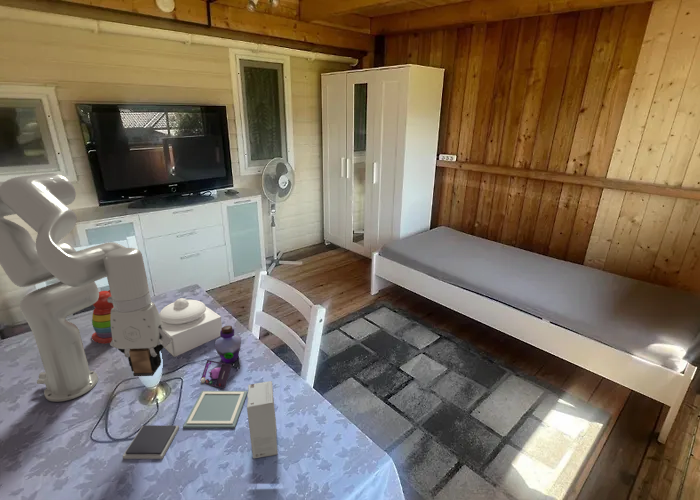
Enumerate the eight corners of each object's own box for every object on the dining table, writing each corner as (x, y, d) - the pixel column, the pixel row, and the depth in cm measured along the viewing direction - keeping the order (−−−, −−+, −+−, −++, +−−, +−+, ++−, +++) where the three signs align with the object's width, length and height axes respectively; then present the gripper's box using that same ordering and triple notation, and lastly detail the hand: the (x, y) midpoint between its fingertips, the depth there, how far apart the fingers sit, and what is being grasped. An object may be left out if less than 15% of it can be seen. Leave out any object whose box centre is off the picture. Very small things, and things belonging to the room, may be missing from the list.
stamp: (133, 376, 90) (128, 351, 87) (142, 364, 94) (137, 341, 91) (152, 375, 90) (147, 351, 87) (160, 364, 94) (156, 340, 92)
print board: (183, 428, 93) (182, 425, 93) (202, 392, 106) (201, 389, 105) (234, 428, 93) (234, 425, 93) (247, 392, 106) (247, 390, 105)
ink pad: (123, 458, 85) (122, 454, 84) (143, 427, 93) (142, 423, 93) (162, 458, 85) (161, 454, 84) (179, 428, 93) (178, 424, 93)
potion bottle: (221, 371, 115) (217, 338, 111) (212, 357, 121) (208, 325, 117) (248, 361, 119) (245, 329, 115) (238, 348, 126) (235, 317, 122)
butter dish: (200, 320, 144) (195, 283, 139) (224, 338, 132) (219, 298, 127) (152, 338, 132) (145, 298, 126) (174, 359, 120) (167, 316, 115)
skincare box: (277, 455, 86) (274, 404, 81) (251, 460, 85) (246, 408, 80) (276, 427, 94) (273, 379, 89) (252, 431, 93) (247, 382, 88)
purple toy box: (222, 388, 106) (198, 382, 109) (232, 389, 110) (209, 384, 114) (229, 364, 108) (205, 359, 112) (239, 366, 113) (216, 362, 116)
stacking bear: (124, 325, 139) (115, 282, 133) (133, 336, 132) (123, 291, 126) (90, 337, 131) (79, 291, 125) (98, 348, 125) (86, 301, 119)
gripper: (84, 309, 81) (102, 378, 87) (162, 307, 82) (174, 376, 88) (104, 294, 89) (120, 359, 94) (175, 293, 89) (186, 357, 95)
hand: (146, 367), depth 91 cm, fingers closed on stamp, 4 cm apart
